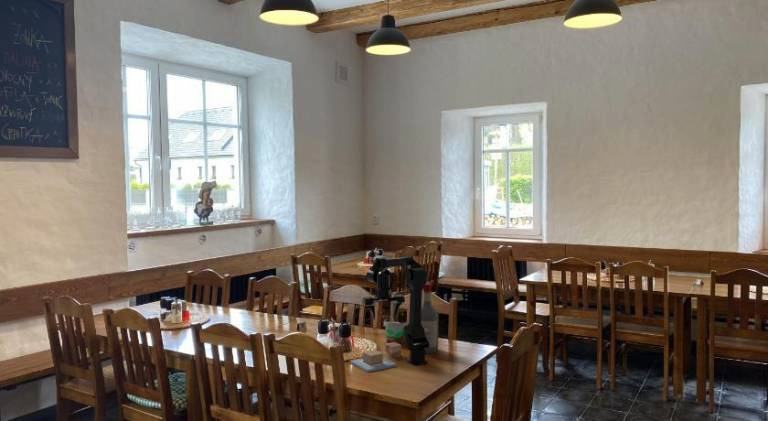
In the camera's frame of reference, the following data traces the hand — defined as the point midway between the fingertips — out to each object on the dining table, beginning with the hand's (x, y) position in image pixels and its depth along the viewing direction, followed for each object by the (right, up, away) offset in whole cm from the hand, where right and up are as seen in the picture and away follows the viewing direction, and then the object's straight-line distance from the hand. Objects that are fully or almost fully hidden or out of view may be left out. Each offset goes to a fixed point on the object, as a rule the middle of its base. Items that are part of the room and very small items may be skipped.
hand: (383, 318), depth 274 cm
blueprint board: (-5, -15, -22) cm, 27 cm away
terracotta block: (+4, -14, -10) cm, 18 cm away
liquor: (+19, -14, -2) cm, 24 cm away
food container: (+5, -13, +10) cm, 17 cm away
